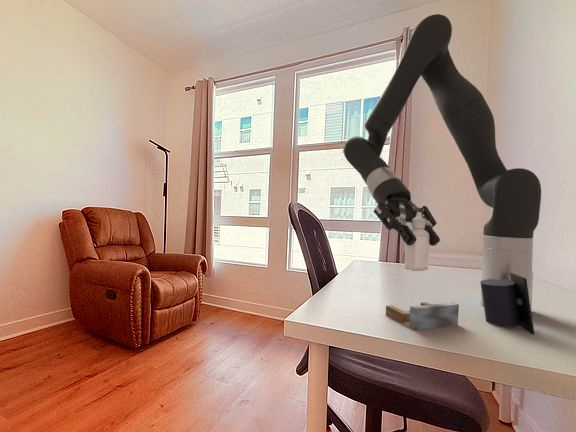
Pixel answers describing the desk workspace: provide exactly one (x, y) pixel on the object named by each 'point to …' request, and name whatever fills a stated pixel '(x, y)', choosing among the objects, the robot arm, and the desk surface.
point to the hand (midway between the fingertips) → (424, 242)
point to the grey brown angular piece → (425, 315)
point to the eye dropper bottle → (418, 246)
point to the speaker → (507, 302)
